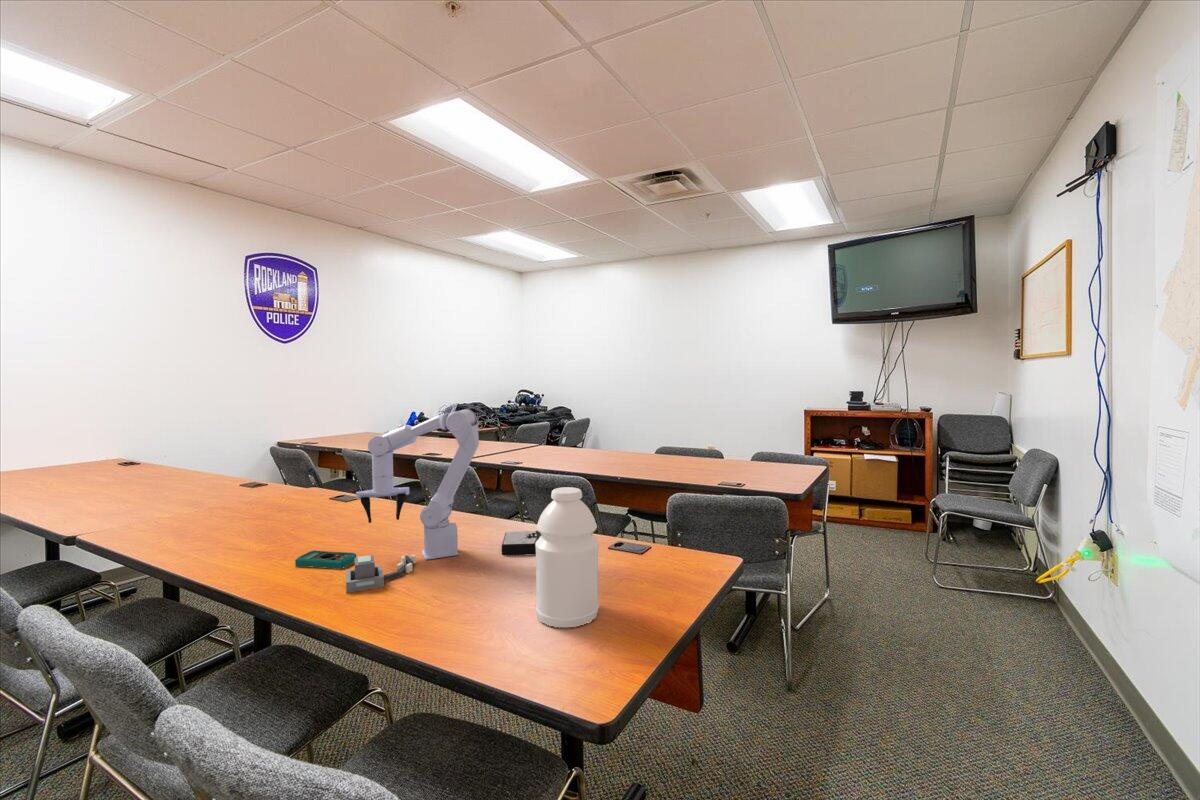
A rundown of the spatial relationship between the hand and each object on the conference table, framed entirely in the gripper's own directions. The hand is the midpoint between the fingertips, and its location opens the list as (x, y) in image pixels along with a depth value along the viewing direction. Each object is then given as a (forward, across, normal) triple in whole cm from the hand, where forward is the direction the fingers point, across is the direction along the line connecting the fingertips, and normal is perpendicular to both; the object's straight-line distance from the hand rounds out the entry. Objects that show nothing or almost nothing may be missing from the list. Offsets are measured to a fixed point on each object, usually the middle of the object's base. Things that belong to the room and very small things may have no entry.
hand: (383, 520), depth 155 cm
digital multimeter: (+11, -15, -2) cm, 19 cm away
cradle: (+10, -6, -22) cm, 25 cm away
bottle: (+10, +34, -61) cm, 71 cm away
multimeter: (+11, +42, -15) cm, 46 cm away
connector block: (+10, -6, -22) cm, 25 cm away
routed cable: (+10, +3, -16) cm, 19 cm away
